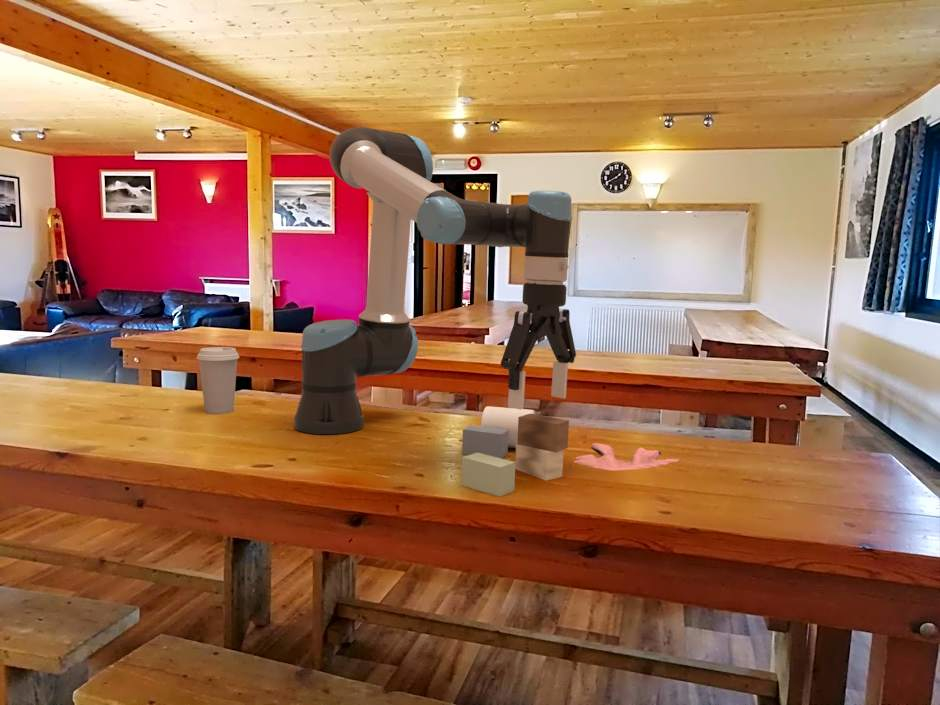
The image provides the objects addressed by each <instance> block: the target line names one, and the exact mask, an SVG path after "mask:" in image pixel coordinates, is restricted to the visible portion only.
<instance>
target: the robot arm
mask: <svg viewBox="0 0 940 705" xmlns="http://www.w3.org/2000/svg"><path fill="white" fill-rule="evenodd" d="M433 161H434V160H433V157H432V153H431V151H430V149H429V148H428V147H427V144H426V142H425V141H424V140H422V139H421V138H419V137H417V136H412V135H409V134H408V133H403V132H401V133H400V132H394V131H388V130H382V129H376V128H371V127H366V126H355V127H351V128H347V129H346V130H343V131H342V132H340V133H339V134H338V135H337V136H336V137H335V139H334V140H333V142H332V144H331V146H330V149H329V162H330V165H331V168H332V170H333V172H334V173H335V175H336V176H337V177H338V178H339V180H341V181H343V182H344V183H345V184H347V185H349V186H351V187H353V188H355V189H364V190H366V195H367V196H368V197H369V198H370V199H371V201H372V217H371V229H370V230H371V233H370V245H369V246H370V248H369V260H368V262H369V264H368V276H367V289H366V290H367V292H366V306H365V310H362V312H361V313H359V315H358V323H357V322H356V321H355V320H353V319H330V320H329V319H328V320H322V321H317V322H314V323H313V322H312V324H309V325H307V326H305V328H304V329H303V331H302V337H301V339H302V340H301V344H300V348H301V370H302V371H301V374H302V375H301V376H302V379H301V380H302V383H301V384H302V385H301V386H302V391H301V396H300V399H299V402H298V406H297V410H296V412H295V415H294V418H293V419H294V420H293V425H294V426H293V427H294V429H295V430H296V431H299V432H302V433H306V434H314V435H315V434H316V435H338V434H339V435H340V434H348V433H352V432H356V431H359V430H361V429H362V428H364V425H365V424H364V423H365V422H364V420H365V418H364V413H363V412H362V411H363V410H362V407H361V403H360V401H359V398H358V394H357V378H360V377H363V378H364V377H371V376H382V375H386V376H388V375H394V374H396V373H397V374H398V373H403V372H405V371H406V370H407V369H409V368H410V367H411V366H412V365H413V363H414V362H415V360H416V357H417V354H418V350H419V340H418V339H419V338H418V336H416V335H417V332H416V329H415V328H414V327H413V326H412V325H410V317H408V315H407V314H406V313H405V311H404V310H405V301H406V300H405V299H406V287H407V286H406V285H407V273H408V272H407V271H408V258H409V247H410V234H411V223H412V221H413V222H414V223H416V227H417V229H418V231H419V232H420V236H421V238H423V239H424V240H425V241H427V242H430V243H437V244H441V245H470V246H471V245H473V246H486V247H488V246H489V247H495V248H496V247H498V248H503V247H508V248H511V247H512V248H516V247H517V248H519V247H521V248H524V263H523V264H524V265H523V279H524V280H525V281H526V282H525V283H524V284H522V299H521V300H522V303H523V304H524V305H526V306H527V310H526V311H519V310H516V312H514V320H513V325H512V329H511V331H510V334H509V337H508V340H507V343H506V346H505V349H504V352H503V354H502V355H503V356H502V357H501V360H500V367H501V368H503V369H504V370H508V385H507V386H508V398H507V399H508V401H507V408H515V409H520V410H522V409H525V408H524V406H525V404H524V403H525V390H526V387H525V386H526V385H525V383H526V373H527V371H526V370H523V369H524V367H525V365H526V363H527V361H528V359H529V357H530V355H531V354H532V351H533V349H534V347H535V345H536V343H537V341H539V340H541V339H542V338H544V337H546V339H547V341H548V343H549V346H550V348H551V350H552V352H553V355H554V357H555V359H556V361H553V363H552V380H551V392H550V395H551V397H553V398H554V397H555V398H558V399H559V398H560V399H566V398H567V386H568V384H567V383H568V370H569V364H574V362H575V358H576V357H577V356H576V355H577V352H576V347H575V343H574V337H573V331H572V327H571V322H570V316H571V315H570V309H568V308H560V307H564V306H565V305H566V304H567V302H566V301H567V290H568V288H567V286H566V284H564V283H565V282H567V280H568V269H569V251H570V250H569V249H570V247H569V246H570V235H571V226H572V220H573V216H572V197H571V195H570V194H569V193H567V192H565V191H561V190H533V191H531V192H529V193H528V196H527V201H526V203H525V204H506V203H504V204H503V203H498V202H487V201H480V200H479V201H477V200H470V199H469V200H467V199H463V198H461V197H458V196H456V195H454V194H452V193H451V192H448V191H447V190H446V189H444V188H442V187H440V186H438V185H437V184H435V183H434V182H431V181H432V177H433V172H434V163H433Z"/></svg>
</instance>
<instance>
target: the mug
mask: <svg viewBox="0 0 940 705" xmlns="http://www.w3.org/2000/svg"><path fill="white" fill-rule="evenodd" d="M527 414H536V411H535V410H534V409H529V408H528V409H527V408H523V409H522V410H520V409H515V408H511V407H500V406H488V405H487V406H485V408H484V409H483V411H482V415H481V421H480V426H482V427H490V428H498V429H507V430H508V448H511V449H516V443H517V442H518V417H520V416H524V415H527Z"/></svg>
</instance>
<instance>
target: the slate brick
mask: <svg viewBox="0 0 940 705" xmlns="http://www.w3.org/2000/svg"><path fill="white" fill-rule="evenodd" d="M461 447H462V448H461V449H462V451H461V454H462V455H466V456H468V455H471V454H474V453H477V452H478V453H482V454H485V455H489V456H493V457H497V458H501V459H504V458H505V457H506V456H507V455H508V452H509V451H508V448H509V447H508V430H507V429H498V428H490V427H482V426H481V425H472V424H471V425H470V424H469V425H468V426H466V427H465V428H463V429H462V445H461Z"/></svg>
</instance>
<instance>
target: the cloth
mask: <svg viewBox="0 0 940 705" xmlns="http://www.w3.org/2000/svg"><path fill="white" fill-rule="evenodd" d="M591 449H593V450H595V451H597V452H598V453H599V454H600V455H601V456H600V457H596V456H595V455H593V454H584V455H581V456H576V457H575V459H576V460H574V461H573V462H574V463H575V464H579V465H582V466H586V467H590V468H591V467H592V468H595V469H599V470H600V469H601V470H603V471H604V470H605V471H626V470H627V471H629V470H645V469H652V468H657V467H661V466H667V465H668V464H672V463H675V462H679V461H680V459H678V458H677V459H676V458H666V459H665V460H664V459H660V458H661V456H660V455H662V452H661V451H660V450H656V449H655V450H650V449H649V450H647V449H646V448H643V447H638V448H637V449H636V451H635V452H634V454H632V457H631V461H625V460H622V459H621V460H620V459H617V458H616V455H615V452H614V451H615V450H614V448H612V447H611V445H609V444H604V443H597V442H596V443H595V442H593V443H592V445H591ZM659 454H660V455H659Z"/></svg>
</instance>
